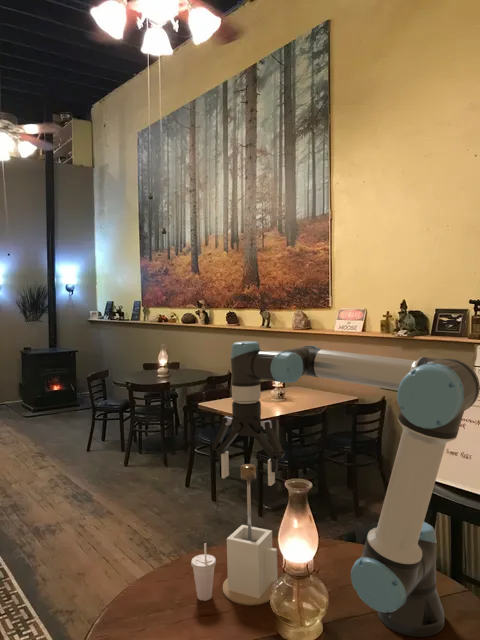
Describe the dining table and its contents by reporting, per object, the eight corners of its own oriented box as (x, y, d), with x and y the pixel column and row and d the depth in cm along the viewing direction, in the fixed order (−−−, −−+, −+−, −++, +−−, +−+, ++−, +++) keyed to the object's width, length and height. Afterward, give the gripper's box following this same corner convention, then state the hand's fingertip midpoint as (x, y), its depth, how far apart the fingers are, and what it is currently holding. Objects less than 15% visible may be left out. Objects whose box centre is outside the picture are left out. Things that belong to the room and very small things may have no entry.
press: (287, 580, 139) (286, 528, 139) (265, 611, 126) (263, 553, 125) (238, 568, 146) (237, 518, 145) (212, 596, 133) (211, 541, 132)
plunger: (264, 544, 137) (262, 464, 136) (255, 554, 131) (253, 471, 131) (245, 540, 139) (243, 461, 138) (235, 550, 134) (233, 468, 133)
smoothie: (213, 605, 129) (211, 550, 128) (189, 602, 130) (187, 548, 130) (219, 590, 135) (218, 538, 135) (196, 588, 136) (194, 537, 136)
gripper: (296, 401, 132) (297, 482, 132) (212, 394, 143) (213, 469, 144) (285, 407, 125) (286, 492, 126) (198, 399, 136) (200, 478, 137)
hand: (247, 480), depth 135 cm, fingers open, 13 cm apart
